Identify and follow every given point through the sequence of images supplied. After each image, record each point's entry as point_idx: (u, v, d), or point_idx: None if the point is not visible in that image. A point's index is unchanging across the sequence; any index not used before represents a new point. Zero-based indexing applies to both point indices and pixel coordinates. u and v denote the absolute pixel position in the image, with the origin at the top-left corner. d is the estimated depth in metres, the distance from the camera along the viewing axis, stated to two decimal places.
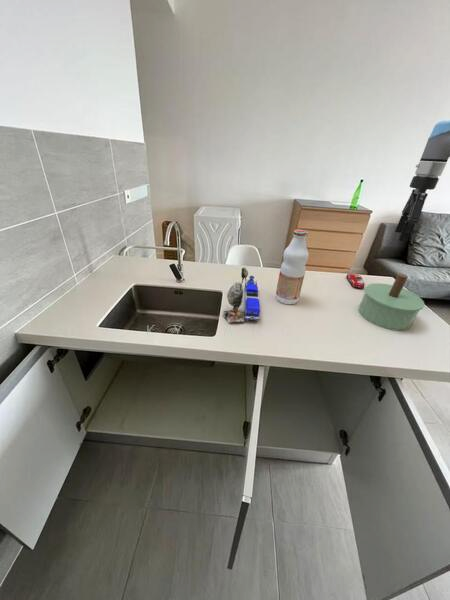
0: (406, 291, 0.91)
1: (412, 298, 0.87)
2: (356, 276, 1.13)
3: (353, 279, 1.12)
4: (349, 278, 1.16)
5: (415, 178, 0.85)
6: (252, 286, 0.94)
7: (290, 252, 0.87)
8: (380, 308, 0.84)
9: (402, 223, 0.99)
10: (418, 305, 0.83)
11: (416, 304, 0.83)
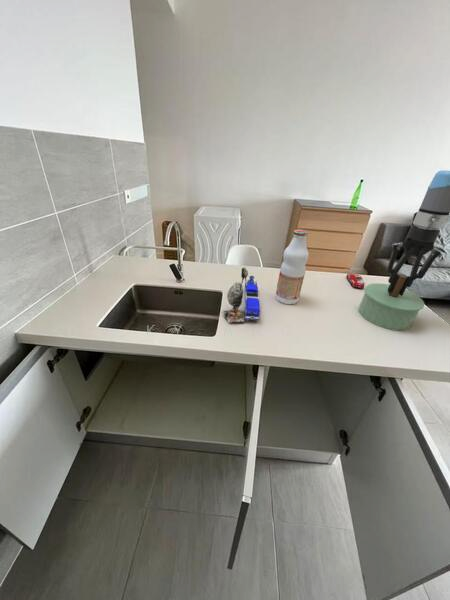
0: (406, 291, 0.91)
1: (412, 298, 0.87)
2: (356, 276, 1.13)
3: (353, 279, 1.12)
4: (349, 278, 1.16)
5: (434, 233, 0.72)
6: (252, 286, 0.94)
7: (290, 252, 0.87)
8: (380, 308, 0.84)
9: None
10: (418, 305, 0.83)
11: (416, 304, 0.83)
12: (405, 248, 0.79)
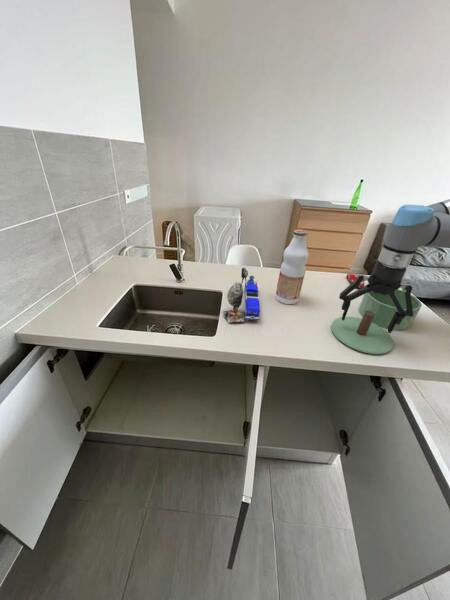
0: (376, 327, 0.84)
1: (381, 337, 0.80)
2: (356, 276, 1.13)
3: (353, 279, 1.12)
4: (349, 278, 1.16)
5: (399, 272, 0.65)
6: (252, 286, 0.94)
7: (290, 252, 0.87)
8: (380, 308, 0.84)
9: (347, 309, 0.80)
10: (386, 346, 0.76)
11: (384, 345, 0.76)
12: (371, 285, 0.72)
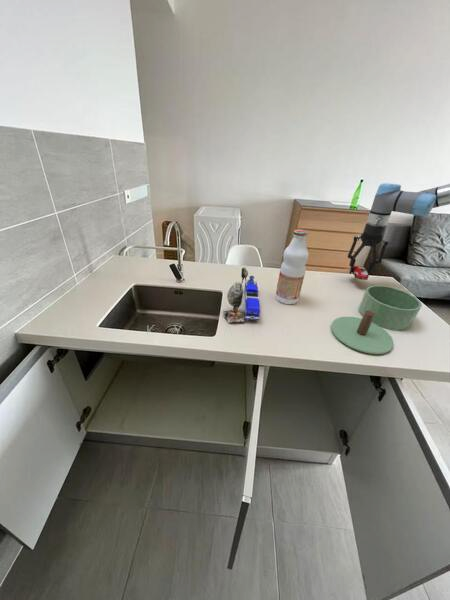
0: (376, 327, 0.84)
1: (381, 337, 0.80)
2: (360, 268, 1.11)
3: (357, 271, 1.10)
4: (353, 270, 1.14)
5: (380, 228, 0.99)
6: (252, 286, 0.94)
7: (290, 252, 0.87)
8: (380, 308, 0.84)
9: (353, 265, 1.13)
10: (386, 346, 0.76)
11: (384, 345, 0.76)
12: (362, 240, 1.06)
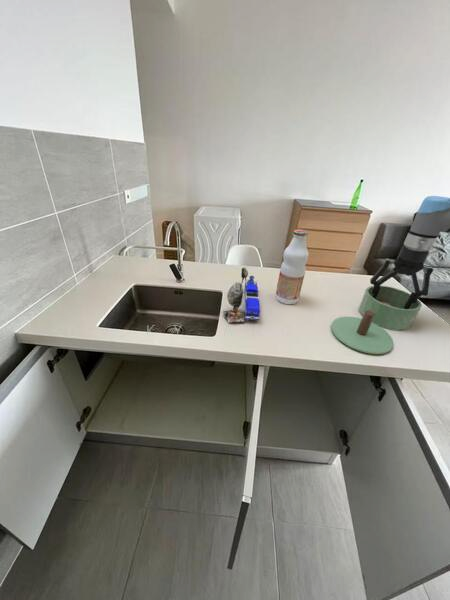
0: (376, 327, 0.84)
1: (381, 337, 0.80)
2: None
3: None
4: None
5: (423, 254, 0.76)
6: (252, 286, 0.94)
7: (290, 252, 0.87)
8: (380, 308, 0.84)
9: None
10: (386, 346, 0.76)
11: (384, 345, 0.76)
12: (396, 267, 0.83)
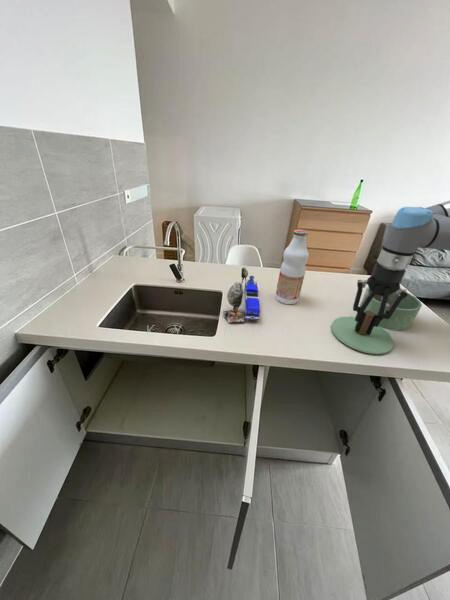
0: (376, 327, 0.84)
1: (381, 337, 0.80)
2: None
3: None
4: None
5: (398, 274, 0.66)
6: (252, 286, 0.94)
7: (290, 252, 0.87)
8: None
9: None
10: (386, 346, 0.76)
11: (384, 345, 0.76)
12: (370, 287, 0.72)
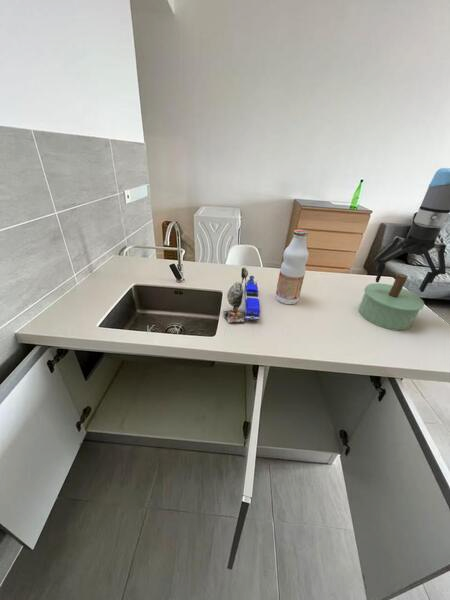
0: (406, 291, 0.91)
1: (412, 298, 0.87)
2: None
3: None
4: None
5: (435, 231, 0.72)
6: (252, 286, 0.94)
7: (290, 252, 0.87)
8: (380, 308, 0.84)
9: None
10: (418, 305, 0.83)
11: (416, 304, 0.83)
12: (406, 246, 0.79)
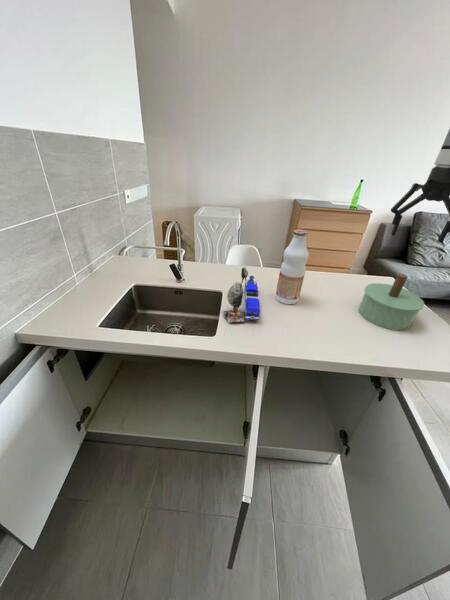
0: (406, 291, 0.91)
1: (412, 298, 0.87)
2: None
3: None
4: None
5: None
6: (252, 286, 0.94)
7: (290, 252, 0.87)
8: (380, 308, 0.84)
9: None
10: (418, 305, 0.83)
11: (416, 304, 0.83)
12: (425, 192, 0.75)
